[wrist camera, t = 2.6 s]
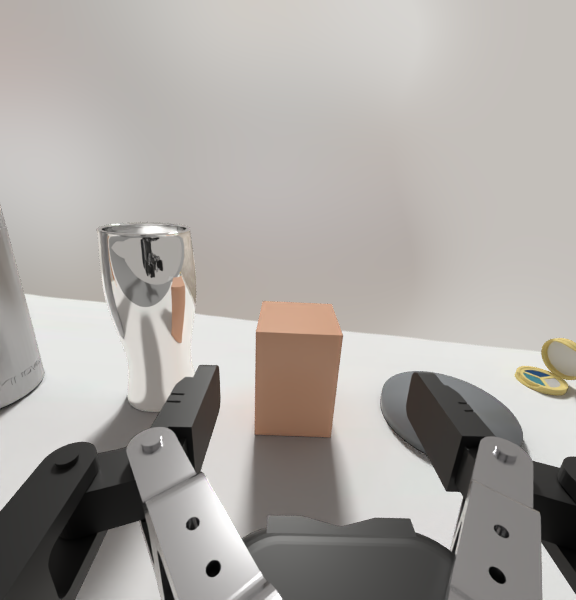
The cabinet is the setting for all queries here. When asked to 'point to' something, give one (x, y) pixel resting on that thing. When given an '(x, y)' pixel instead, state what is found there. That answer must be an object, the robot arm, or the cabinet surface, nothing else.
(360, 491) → the cabinet surface
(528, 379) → the eyeshadow
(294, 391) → the peach pillar
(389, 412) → the grey round puck
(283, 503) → the cabinet surface
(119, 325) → the beer glass
